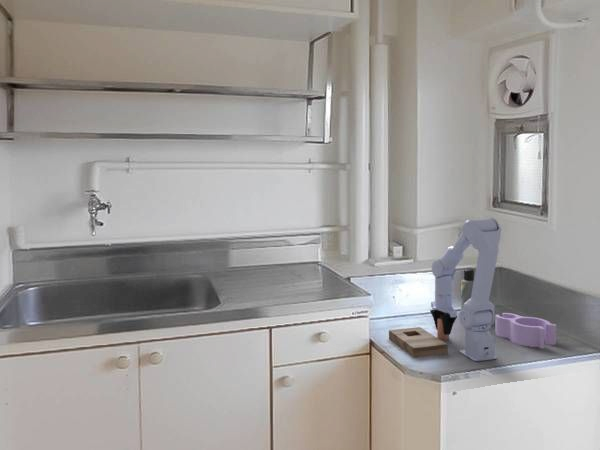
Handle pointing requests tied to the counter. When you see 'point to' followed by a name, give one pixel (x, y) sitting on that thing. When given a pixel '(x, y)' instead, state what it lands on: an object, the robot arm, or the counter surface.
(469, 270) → the lotion bottle
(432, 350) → the board
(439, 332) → the pin
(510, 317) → the clip
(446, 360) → the counter surface
